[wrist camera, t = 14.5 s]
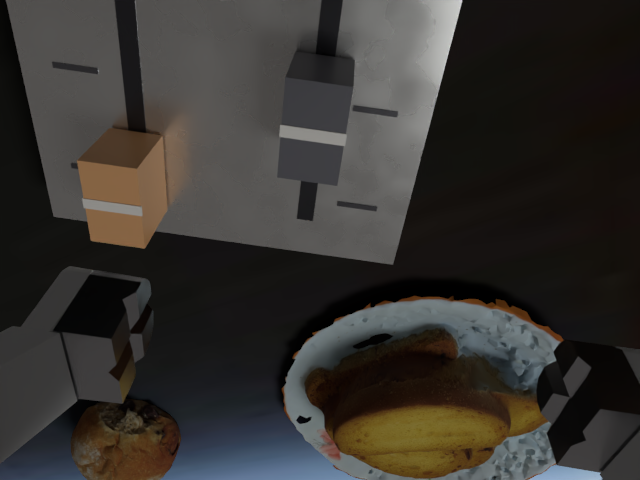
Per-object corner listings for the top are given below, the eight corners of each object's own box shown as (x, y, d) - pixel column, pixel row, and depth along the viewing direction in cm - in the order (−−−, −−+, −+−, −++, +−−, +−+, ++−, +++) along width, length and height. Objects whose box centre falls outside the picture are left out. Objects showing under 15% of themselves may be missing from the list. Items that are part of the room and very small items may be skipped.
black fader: (294, 50, 26) (283, 77, 22) (356, 59, 26) (354, 87, 22) (286, 142, 29) (275, 178, 25) (341, 150, 29) (338, 186, 25)
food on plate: (406, 495, 56) (409, 561, 50) (229, 379, 46) (210, 445, 41) (638, 402, 44) (675, 475, 39) (463, 222, 35) (480, 286, 30)
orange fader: (108, 127, 29) (75, 160, 26) (163, 135, 29) (137, 169, 26) (118, 202, 32) (89, 241, 28) (168, 210, 32) (145, 249, 28)
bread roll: (90, 381, 54) (37, 456, 49) (127, 381, 46) (68, 469, 42) (164, 428, 58) (121, 501, 53) (209, 435, 50) (163, 521, 46)
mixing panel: (6, -179, 24) (-36, -184, 21) (477, -108, 24) (490, -106, 21) (75, 192, 35) (53, 217, 33) (391, 237, 36) (392, 265, 33)
